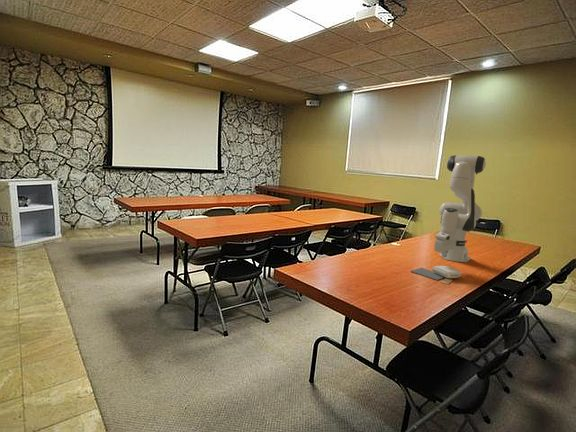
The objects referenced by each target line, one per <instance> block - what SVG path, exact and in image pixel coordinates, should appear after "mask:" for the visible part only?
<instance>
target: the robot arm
mask: <svg viewBox="0 0 576 432" xmlns="http://www.w3.org/2000/svg"><path fill="white" fill-rule="evenodd" d="M486 163H487V162H486V159H485V157H484V156H480V155H478V156H477V155H473V154H472V155H469V154H467V155H466V154H465V155H462V154H461V155H450V157H448V159H447V162H446V169H447V170H448V171H449V172H451V174H450V179H449V188H450V190H451V191H452V192H453V194H454V195H455V196H456V198H458V199H460V200H462V202H461V203H459V202H443V203H442V204H441V205H440V206H439V208H438V210H439V214H440V216H441V217H440V224H441V226H440V228H439V231H438V232H437V233H436V234H435V235H434V237H435V241H434V248H433V249H434V252H437V253H439V254H438V256H440V257H441V258H442V259H444V260H446V261H447V260H448V261H451V262H457V263H459V262H460V263H468V262H469V261H470V260H472V257H471V256H469V250H468V248H467V246H466V244H467V242H468V239H467V240H466V234H467V233H468V232H472V231H474V230H475V228H476V225H477V221H478V220H479V219H481V217H482V215H483V210H482V207H480V206H479V204H478V203H477V202H476V194H475V190H474V186H475V178H476V175H478V174H480V173H482V172H483V171H484V170H485V168H486Z"/></svg>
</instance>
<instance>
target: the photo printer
mask: <svg viewBox="0 0 576 432" xmlns="http://www.w3.org/2000/svg"><path fill="white" fill-rule="evenodd" d="M432 271H433V272H434V273H436V274H439V275H441V276H444V277H446V278H447V279H448V278H453V279H458V278H461V276H462V272H461V271H460V270H458V269H457V268H456V269H455V268H453V267H450V266H448V265H436V266H435V265H434V266H433V268H432Z"/></svg>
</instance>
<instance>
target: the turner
mask: <svg viewBox="0 0 576 432" xmlns="http://www.w3.org/2000/svg"><path fill="white" fill-rule="evenodd" d="M453 279H454V278H443V280H442V281H440V284H442V285H443V284H444V285H450V284H451V283H452V282H453Z"/></svg>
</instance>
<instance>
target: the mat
mask: <svg viewBox="0 0 576 432" xmlns="http://www.w3.org/2000/svg"><path fill="white" fill-rule="evenodd" d="M410 272H411V273H414V274H417V275H419V276H421V277H425V278H429V279H432V280H433V281H439V280H442V279H443V280H444V279H445V278H446V277H444V276H441V275H439V274H436V273H434V272H433V270H430V269H426V268H423V267H418V268H416V269H413V270H410Z"/></svg>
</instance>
